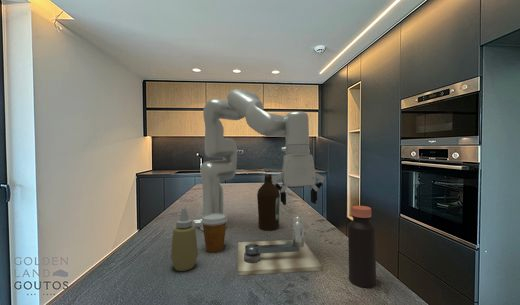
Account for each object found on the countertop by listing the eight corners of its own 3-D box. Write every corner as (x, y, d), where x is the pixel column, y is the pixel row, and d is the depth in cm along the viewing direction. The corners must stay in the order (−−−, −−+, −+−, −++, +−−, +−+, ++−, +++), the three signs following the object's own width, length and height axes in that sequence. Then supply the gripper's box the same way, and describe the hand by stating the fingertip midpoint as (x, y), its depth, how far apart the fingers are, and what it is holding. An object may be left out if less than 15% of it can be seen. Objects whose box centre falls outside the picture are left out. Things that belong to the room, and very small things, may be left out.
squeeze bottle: (183, 276, 68) (182, 213, 68) (165, 269, 72) (164, 210, 72) (203, 264, 75) (203, 207, 75) (186, 259, 79) (185, 205, 79)
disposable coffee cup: (218, 241, 94) (217, 211, 94) (233, 248, 87) (232, 216, 87) (196, 248, 87) (196, 216, 87) (210, 256, 81) (210, 221, 81)
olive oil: (255, 230, 107) (254, 175, 107) (259, 223, 118) (259, 173, 118) (278, 231, 105) (278, 175, 105) (281, 224, 116) (280, 173, 116)
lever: (245, 256, 73) (245, 218, 73) (245, 250, 78) (244, 214, 78) (305, 253, 75) (305, 216, 75) (301, 247, 79) (301, 212, 79)
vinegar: (382, 285, 62) (381, 209, 62) (360, 290, 60) (359, 211, 60) (363, 273, 69) (363, 204, 69) (343, 277, 67) (342, 205, 67)
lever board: (238, 275, 68) (238, 264, 68) (238, 245, 90) (237, 237, 90) (322, 270, 71) (322, 260, 71) (302, 242, 92) (302, 234, 92)
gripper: (272, 151, 72) (274, 207, 72) (327, 149, 74) (329, 204, 74) (269, 151, 80) (270, 202, 80) (319, 150, 81) (320, 200, 81)
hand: (298, 203), depth 77 cm, fingers open, 9 cm apart
